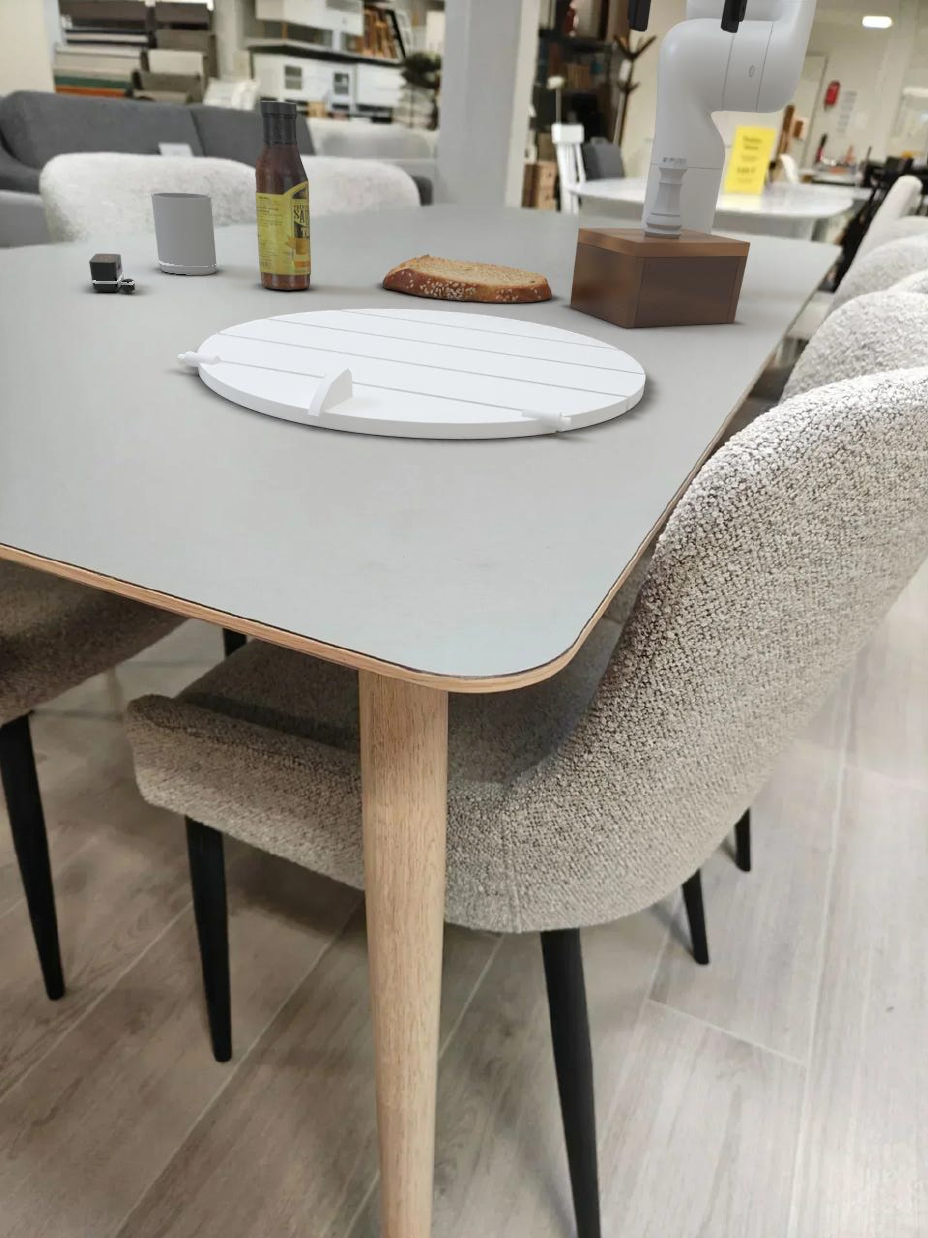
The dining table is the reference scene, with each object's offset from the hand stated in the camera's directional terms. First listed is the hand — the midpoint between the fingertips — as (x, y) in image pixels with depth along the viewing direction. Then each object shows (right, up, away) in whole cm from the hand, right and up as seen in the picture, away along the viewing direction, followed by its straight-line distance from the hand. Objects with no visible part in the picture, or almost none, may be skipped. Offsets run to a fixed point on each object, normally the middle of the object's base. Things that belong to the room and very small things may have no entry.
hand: (682, 30), depth 86 cm
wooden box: (+1, -22, +19) cm, 29 cm away
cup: (-58, -13, +28) cm, 66 cm away
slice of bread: (-22, -17, +26) cm, 37 cm away
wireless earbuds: (-62, -21, +14) cm, 67 cm away
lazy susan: (-26, -37, -9) cm, 46 cm away
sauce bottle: (-44, -18, +21) cm, 52 cm away
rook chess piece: (+1, -15, +14) cm, 20 cm away
